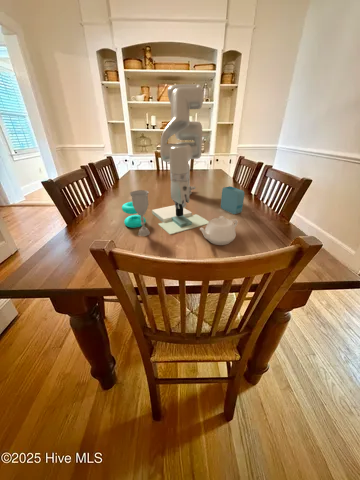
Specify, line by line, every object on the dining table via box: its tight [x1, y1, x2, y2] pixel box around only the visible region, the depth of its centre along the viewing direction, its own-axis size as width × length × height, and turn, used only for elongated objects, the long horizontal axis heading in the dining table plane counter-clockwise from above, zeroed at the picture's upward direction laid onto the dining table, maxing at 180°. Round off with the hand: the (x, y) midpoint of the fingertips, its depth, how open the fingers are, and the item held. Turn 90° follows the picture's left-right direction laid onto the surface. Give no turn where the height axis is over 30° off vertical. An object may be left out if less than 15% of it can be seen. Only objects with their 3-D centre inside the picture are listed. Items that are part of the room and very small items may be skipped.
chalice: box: [129, 189, 151, 237], centre depth 82 cm, size 7×7×18 cm
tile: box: [172, 216, 192, 228], centre depth 94 cm, size 6×9×2 cm, turn 28°
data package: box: [220, 185, 245, 215], centre depth 105 cm, size 12×4×12 cm, turn 30°
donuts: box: [121, 201, 147, 229], centre depth 92 cm, size 10×10×10 cm
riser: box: [151, 204, 193, 223], centre depth 104 cm, size 16×14×2 cm
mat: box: [157, 213, 210, 236], centre depth 94 cm, size 22×12×1 cm, turn 120°
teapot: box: [199, 215, 239, 246], centre depth 79 cm, size 20×12×10 cm, turn 123°
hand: (179, 215), depth 97 cm, fingers closed
